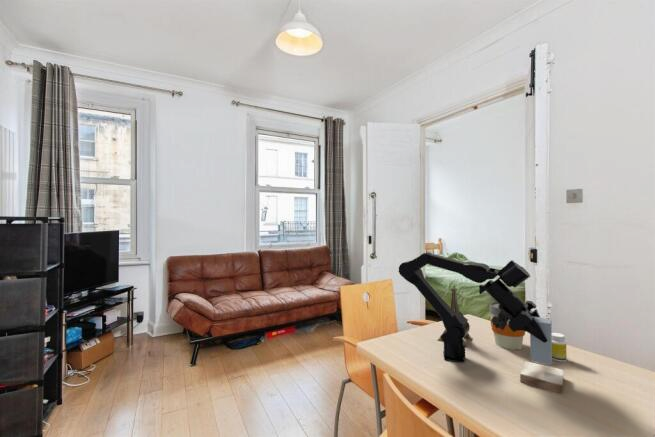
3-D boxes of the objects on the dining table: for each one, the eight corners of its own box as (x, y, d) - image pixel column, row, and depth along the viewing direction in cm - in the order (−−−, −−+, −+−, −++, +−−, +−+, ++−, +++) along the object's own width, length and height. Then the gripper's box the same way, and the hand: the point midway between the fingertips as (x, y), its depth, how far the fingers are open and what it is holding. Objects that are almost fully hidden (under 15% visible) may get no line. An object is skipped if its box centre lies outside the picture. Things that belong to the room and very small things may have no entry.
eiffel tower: (472, 338, 123) (471, 277, 124) (464, 347, 115) (463, 281, 115) (446, 332, 130) (445, 274, 130) (437, 340, 122) (435, 278, 122)
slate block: (530, 360, 91) (530, 320, 91) (532, 354, 95) (531, 316, 95) (551, 365, 88) (550, 323, 88) (551, 359, 92) (551, 319, 92)
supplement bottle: (569, 362, 102) (569, 337, 102) (553, 361, 103) (553, 336, 103) (561, 356, 106) (561, 332, 106) (546, 355, 107) (546, 331, 107)
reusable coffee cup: (527, 342, 119) (526, 303, 119) (528, 354, 108) (527, 312, 108) (491, 335, 126) (490, 299, 126) (488, 347, 115) (487, 307, 115)
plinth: (520, 381, 91) (520, 373, 91) (524, 368, 98) (524, 360, 98) (562, 393, 84) (562, 384, 84) (563, 378, 92) (563, 369, 92)
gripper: (490, 304, 108) (527, 343, 101) (478, 318, 94) (520, 364, 87) (515, 285, 103) (556, 324, 96) (507, 296, 89) (554, 343, 82)
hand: (546, 338), depth 91 cm, fingers closed on slate block, 5 cm apart
